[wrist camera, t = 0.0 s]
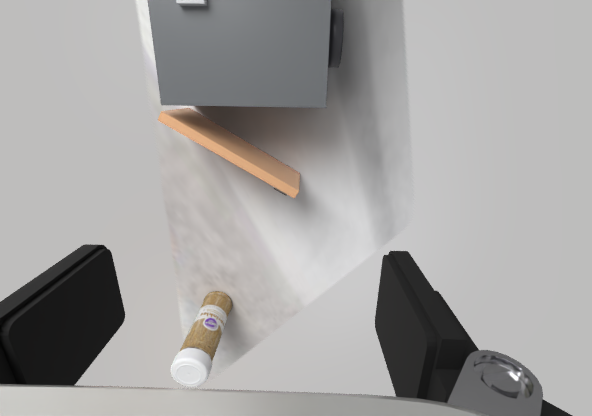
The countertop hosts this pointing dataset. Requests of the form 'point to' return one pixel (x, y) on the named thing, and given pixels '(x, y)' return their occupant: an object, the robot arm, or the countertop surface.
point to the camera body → (245, 51)
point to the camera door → (233, 149)
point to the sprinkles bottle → (202, 341)
